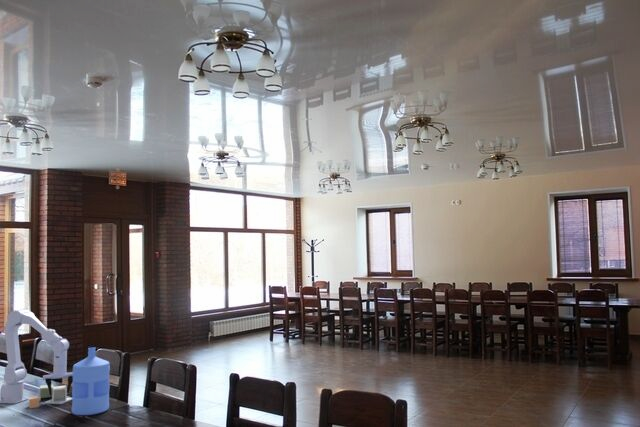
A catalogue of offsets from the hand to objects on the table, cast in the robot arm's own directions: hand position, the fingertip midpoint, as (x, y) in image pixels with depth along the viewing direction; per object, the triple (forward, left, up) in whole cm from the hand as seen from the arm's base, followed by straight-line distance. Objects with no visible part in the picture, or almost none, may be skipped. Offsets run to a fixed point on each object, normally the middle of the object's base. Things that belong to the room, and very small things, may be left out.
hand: (59, 393), depth 255 cm
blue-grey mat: (0, 0, -4) cm, 4 cm away
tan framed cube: (0, 0, -3) cm, 3 cm away
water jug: (+26, -12, -4) cm, 28 cm away
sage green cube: (-9, +3, -4) cm, 11 cm away
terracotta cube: (-5, -10, -4) cm, 12 cm away
